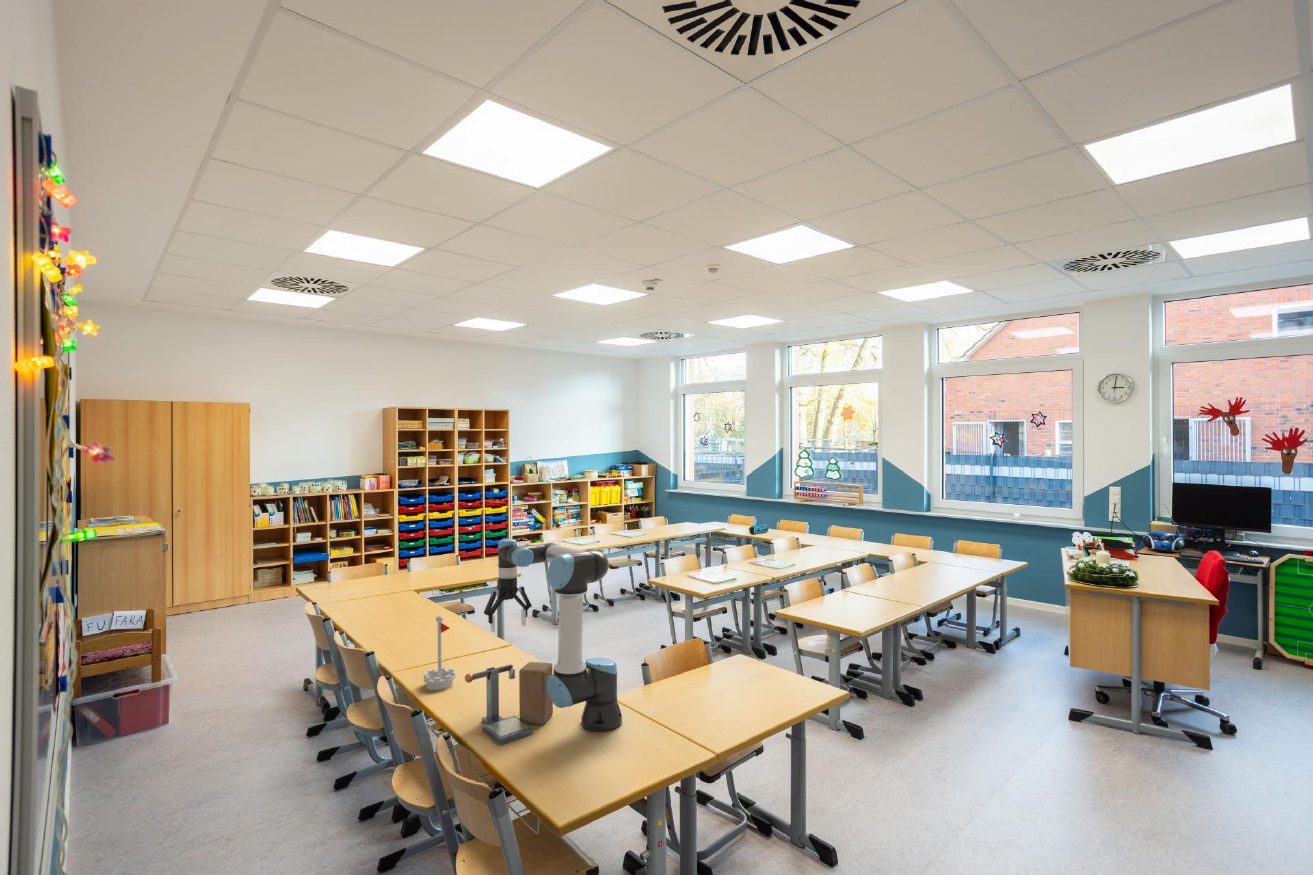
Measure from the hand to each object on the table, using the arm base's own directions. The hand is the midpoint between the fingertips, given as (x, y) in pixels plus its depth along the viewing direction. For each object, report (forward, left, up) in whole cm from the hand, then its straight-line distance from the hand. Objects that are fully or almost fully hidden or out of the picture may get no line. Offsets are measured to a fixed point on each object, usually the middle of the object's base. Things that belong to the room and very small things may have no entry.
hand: (508, 628), depth 263 cm
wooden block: (-28, +3, -28) cm, 40 cm away
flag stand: (+30, +18, -28) cm, 44 cm away
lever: (-19, +17, -13) cm, 29 cm away
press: (-27, +16, -28) cm, 42 cm away
